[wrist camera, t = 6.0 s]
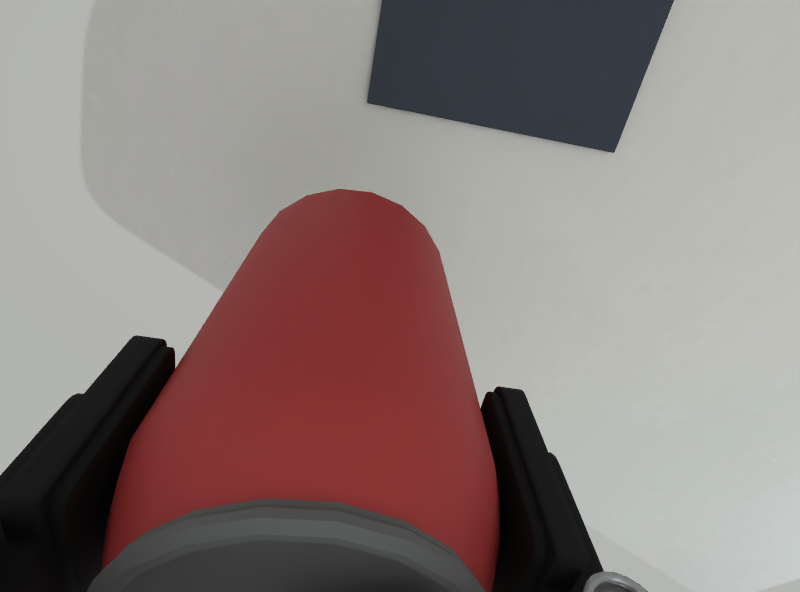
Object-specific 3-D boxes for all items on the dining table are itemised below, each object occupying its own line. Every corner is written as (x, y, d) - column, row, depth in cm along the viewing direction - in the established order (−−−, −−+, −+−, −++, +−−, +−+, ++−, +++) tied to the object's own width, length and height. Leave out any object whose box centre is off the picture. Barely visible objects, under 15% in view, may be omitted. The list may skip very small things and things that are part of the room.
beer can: (463, 320, 18) (578, 716, 7) (305, 371, 19) (206, 789, 8) (405, 153, 15) (455, 420, 4) (220, 223, 16) (-102, 584, 5)
